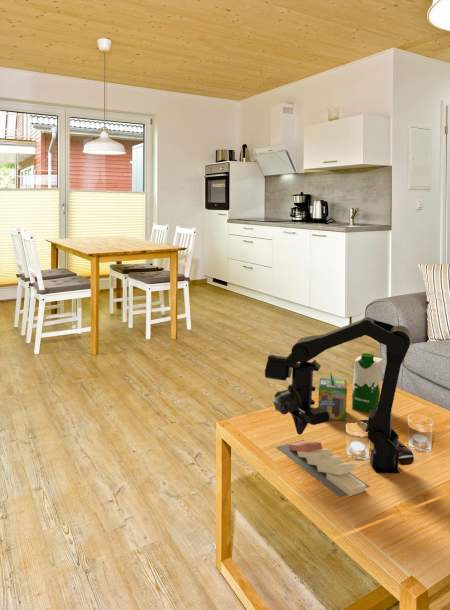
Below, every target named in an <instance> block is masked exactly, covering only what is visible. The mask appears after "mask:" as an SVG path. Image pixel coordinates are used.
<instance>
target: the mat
mask: <svg viewBox="0 0 450 610" xmlns="http://www.w3.org/2000/svg"><path fill="white" fill-rule="evenodd" d="M300 441H305V439H302V440H301V439H300V440H297V441H294V442H290V443H286V444H283V445H279V446H275V447H276V449H278V451H280V452H281V453H283V454H284V455H285V456H286V457H288V459H290V460H291V461H292V462H293V463H295V464H296V465H298V466H299V467H301V468H302V469H303V470H304V471H306V472H307V473H308V474H309V475H311V476H312V477H314V479H316V480H317V481H318V482H320V483H321V484H322V485H324V486H325V487H326V488H327V489H328V490H330V491H332V492H333V493H334V494H335V495H337V496H338V497H339V498H342V497H343V496H347V495H348V494H346V493H345V492H344V491H342V490H341V489H340V488H338V487H337V486H336V485H335V484H333V483H332V482H331V481H329V480H328V479H327V478H326V476H327V473H325V472H318V469H317V465H311V464H308V463H307V458H303V457H298V453H297V451H292V450H289V444H293V443H296V442H300ZM348 473H349V474H351V475H352V476H353V477H355V478H356V479H358V480H359V481H361V482H362V483H363V484H365V485H366V487H365V489H368V488H370V487H371V486H370V485H369V484H368V483H366V482H364V481H363V480H362V479H360V478H359V477H358V476H356V475H355V474H353V473H352V472H351V471H349V472H348Z"/></svg>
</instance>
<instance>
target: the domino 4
mask: <svg viewBox="0 0 450 610" xmlns="http://www.w3.org/2000/svg"><path fill="white" fill-rule="evenodd" d="M317 469H318V472H325V473H332V474H338V475H340V474H343V473H346V472H352V471H354V470H355V465H354V463H352V462H342V463H339V464H336V465H332V466H329V467H326V466H318V465H317Z"/></svg>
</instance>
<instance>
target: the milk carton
mask: <svg viewBox="0 0 450 610" xmlns="http://www.w3.org/2000/svg"><path fill="white" fill-rule="evenodd" d="M383 360H384V359H383V358H381V357H376V356H374V355H373V353H367V352H365V353H362V354H361V355H359V356H358V357H357V358H356V359H355V360H354V364H353V365H354V366H353V380H352V396H351V398H352V400H351V409H352V410H354V411H359V412H364V413H366V414H367V413H368V414H370V410H373V411H376V409H377V407H378V403H379V398H380V393H381V387H382V373H383V372H382V371H383Z"/></svg>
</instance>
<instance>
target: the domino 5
mask: <svg viewBox="0 0 450 610" xmlns="http://www.w3.org/2000/svg"><path fill="white" fill-rule="evenodd" d="M326 478H327V479H328V480H329V481H331V482H332V483H333V484H335V485H336V486H337V487H338V488H340V489H341V490H342V491H344V492H345V493H346V494H347V495H348V496H350V497H351V496H353V495H358V494H360V493H364V492H366V488H365V487H366V485H365V484H363V483H362V482H361V481H359V480H358V479H356V478H355V477H353V476H352V475H351V474H349V473H348V472H346V473H343V474H340V475H338V474H332V473H327V476H326Z"/></svg>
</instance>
